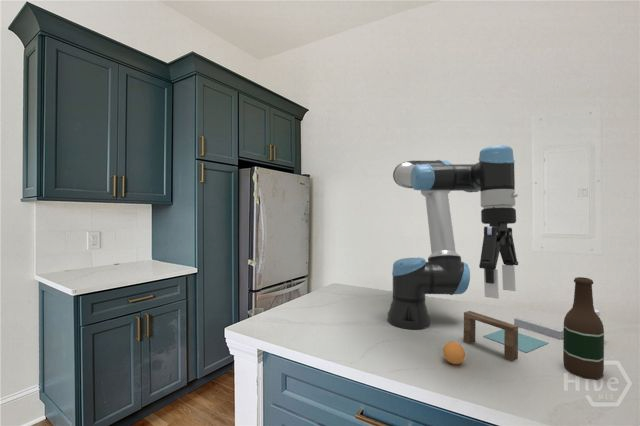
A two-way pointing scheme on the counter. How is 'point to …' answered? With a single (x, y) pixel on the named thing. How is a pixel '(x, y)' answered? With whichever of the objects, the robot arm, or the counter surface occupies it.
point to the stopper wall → (539, 328)
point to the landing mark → (524, 341)
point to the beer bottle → (583, 334)
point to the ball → (454, 352)
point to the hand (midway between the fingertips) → (500, 293)
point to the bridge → (510, 329)
